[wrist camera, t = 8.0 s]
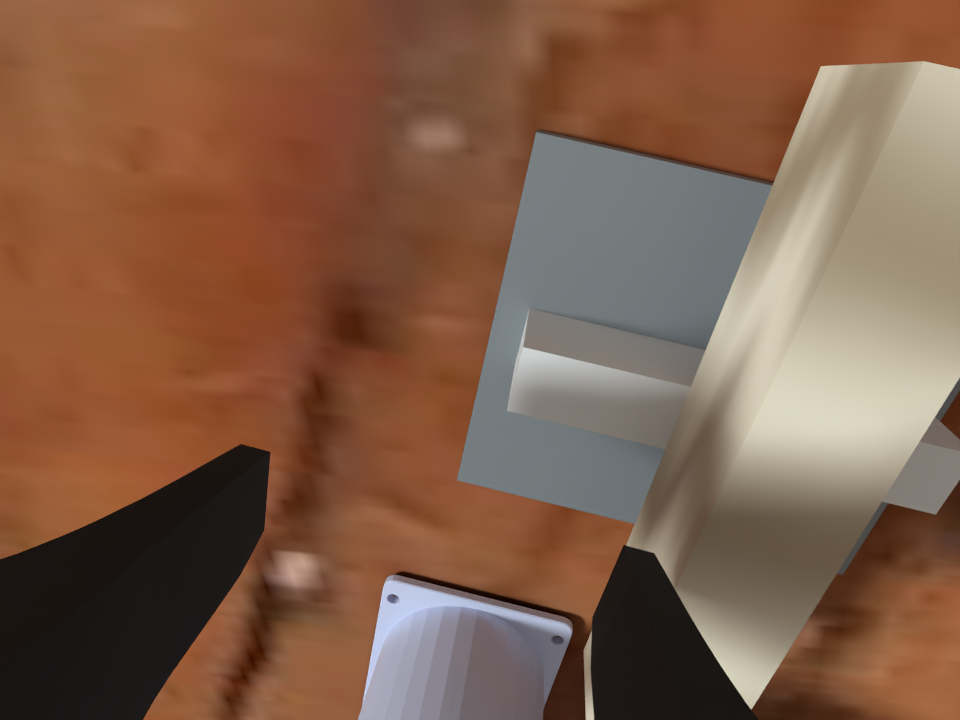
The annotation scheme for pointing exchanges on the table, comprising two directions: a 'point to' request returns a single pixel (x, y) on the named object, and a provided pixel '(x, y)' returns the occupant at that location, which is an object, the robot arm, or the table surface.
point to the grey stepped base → (623, 330)
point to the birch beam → (815, 365)
